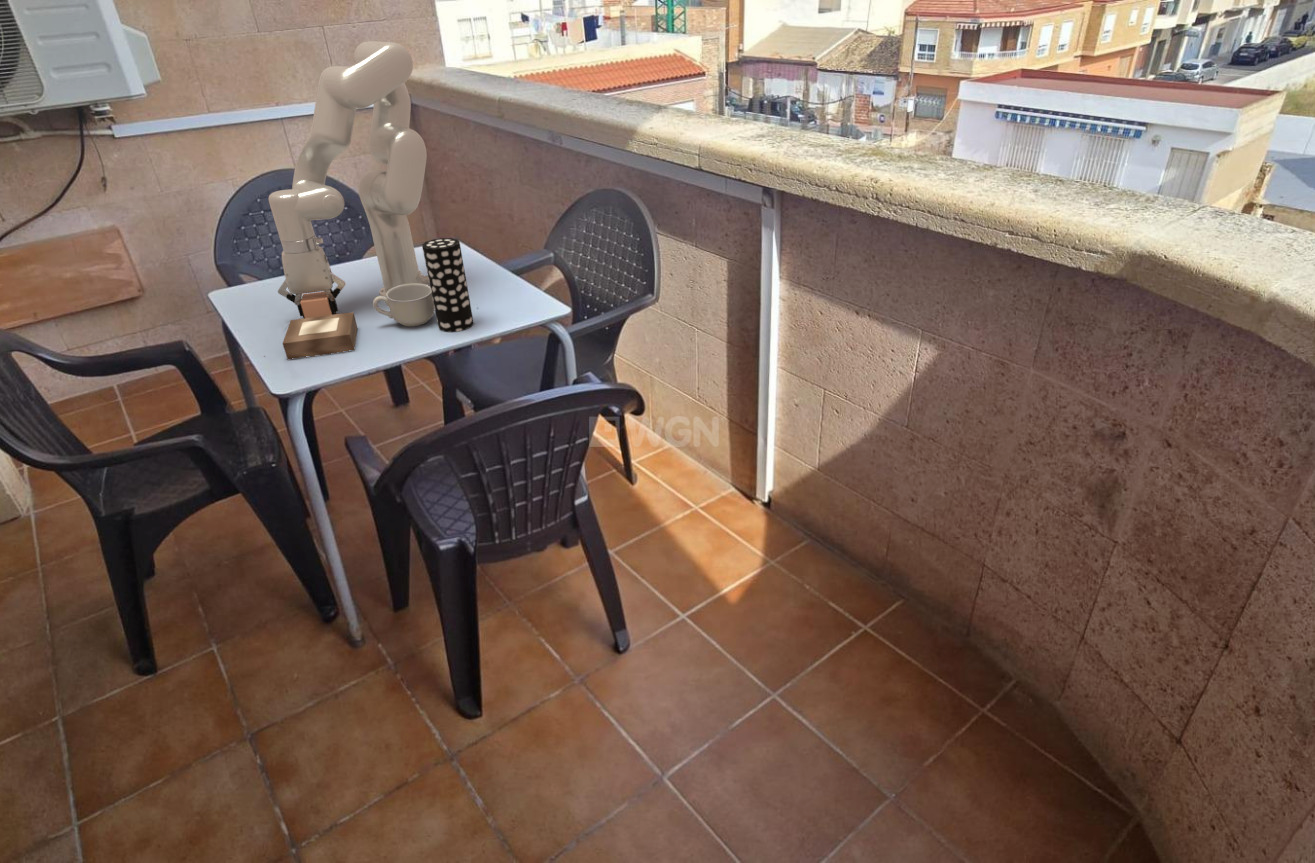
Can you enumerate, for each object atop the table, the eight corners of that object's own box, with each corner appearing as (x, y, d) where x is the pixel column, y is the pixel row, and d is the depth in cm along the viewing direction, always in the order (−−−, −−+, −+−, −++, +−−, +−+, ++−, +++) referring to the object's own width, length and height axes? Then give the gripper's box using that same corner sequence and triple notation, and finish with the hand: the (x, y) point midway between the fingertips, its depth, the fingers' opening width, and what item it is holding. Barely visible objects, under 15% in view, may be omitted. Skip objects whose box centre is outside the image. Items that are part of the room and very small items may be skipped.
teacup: (439, 311, 184) (433, 281, 180) (436, 328, 175) (429, 296, 171) (382, 316, 182) (375, 286, 178) (376, 333, 173) (368, 302, 169)
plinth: (357, 327, 176) (353, 311, 174) (354, 350, 165) (349, 333, 163) (295, 335, 173) (290, 319, 171) (287, 359, 162) (282, 342, 159)
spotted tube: (441, 334, 171) (424, 251, 161) (435, 322, 178) (419, 241, 167) (476, 328, 174) (462, 245, 164) (469, 316, 181) (455, 236, 170)
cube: (335, 313, 185) (328, 290, 182) (333, 322, 180) (326, 299, 177) (309, 316, 183) (303, 294, 180) (307, 325, 179) (300, 302, 175)
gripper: (339, 236, 177) (357, 306, 186) (262, 244, 173) (285, 315, 182) (337, 245, 171) (356, 317, 180) (257, 253, 167) (281, 326, 176)
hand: (320, 315), depth 181 cm, fingers closed on cube, 6 cm apart
